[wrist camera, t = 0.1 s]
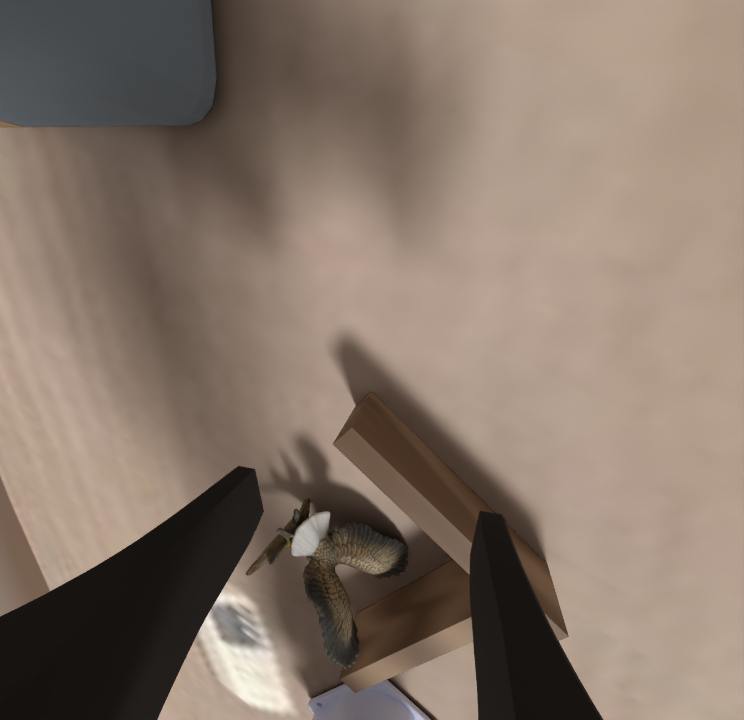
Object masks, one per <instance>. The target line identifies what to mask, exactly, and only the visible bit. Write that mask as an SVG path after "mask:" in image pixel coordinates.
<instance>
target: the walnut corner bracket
mask: <svg viewBox="0 0 744 720" xmlns="http://www.w3.org/2000/svg"><path fill="white" fill-rule="evenodd" d="M333 445H334V446H335V447H336V448H337V449H338V450H339V451H340V452H342V453H343V454H344V455H345V456H346V457H347V458H348V459H349V460H350V461H351V462H352V463H353V464H354V465H355V466H356V467H357V468H358V469H359V470H360V471H361V472H362V473H363V474H365V475H366V476H367V477H368V478H369V479H370V480H371V481H372V482H373V483H374V484H375V485H376V486H377V487H378V488H379V489H380V490H381V491H382V492H383V493H384V494H385V495H387V496H388V497H389V498H390V499H391V500H392V501H393V502H394V503H395V504H396V505H397V506H398V507H399V508H400V509H401V510H402V511H403V512H404V513H405V514H406V515H407V516H408V517H410V518H411V519H412V520H413V521H414V522H415V523H416V524H417V525H418V526H419V527H420V528H421V529H422V530H423V531H424V532H425V533H426V534H427V535H428V536H429V537H430V538H431V539H433V540H434V541H435V542H436V543H437V544H438V545H439V546H440V547H441V548H442V549H443V550H444V551H445V552H446V553H447V554H448V555H449V556H450V557H451V558H452V560H451V561H449V562H447V563H445V564H444V565H442V566H440V567H438V568H437V569H435V570H433V571H431V572H430V573H428V574H426V575H424V576H422V577H421V578H419V579H417V580H415V581H414V582H412V583H410V584H408V585H407V586H405V587H403V588H401V589H400V590H398V591H396V592H394V593H392V594H391V595H389V596H387V597H385V598H384V599H382V600H380V601H378V602H377V603H375V604H373V605H371V606H370V607H368V608H366V609H364V610H362V611H361V612H359V613H357V615H356V618H355V624H356V627H357V629H358V633H357V637H358V638H359V642H360V643H359V650H360V654H359V656H357V657H356V662H355V663H352V665H351V667H348V666H347V668H346V669H344V668H342V672H341V676H340V680H341V681H342V682H343V683H345V684H346V685H347V686H348V687H349V688H350V689H351V690H352V691H354V692H355V693H357V692H359V691H361V690H364V689H366V688H368V687H371V686H373V685H375V684H377V683H380V682H382V681H384V680H387V679H389V678H391V677H393V676H396V675H398V674H400V673H403V672H405V671H407V670H409V669H412V668H414V667H416V666H419V665H421V664H423V663H425V662H428V661H430V660H432V659H435V658H437V657H439V656H441V655H444V654H446V653H448V652H451V651H453V650H455V649H457V648H460V647H462V646H464V645H467V644H469V643H471V642H473V631H472V619H471V606H470V593H469V591H470V552H471V547H472V543H473V538H474V534H475V529H476V525H477V520H478V516H479V511H484V512H490V513H495V512H494V511H493V510H492V509H491V508H490V507H489V506H488V505H487V504H486V503H485V502H484V501H483V500H482V499H481V498H480V497H479V496H477V495H476V494H475V493H474V492H473V491H472V490H471V489H470V488H469V487H468V486H467V485H466V484H465V483H464V482H463V481H462V480H461V479H460V478H459V477H458V476H457V475H456V474H455V473H454V472H453V471H452V470H451V469H450V468H449V467H448V466H447V465H446V464H445V463H444V462H443V461H442V460H441V459H440V458H439V457H438V456H437V455H436V454H435V453H434V452H433V451H432V450H431V449H430V448H429V447H428V446H426V445H425V444H424V443H423V442H422V441H421V440H420V439H419V438H418V437H417V436H416V435H415V434H414V433H413V432H412V431H411V430H410V429H409V428H408V427H407V426H406V425H405V424H404V423H403V422H402V421H401V420H400V419H399V418H398V417H397V416H396V415H395V414H394V413H393V412H392V411H391V410H390V409H389V408H388V407H387V406H386V405H385V404H384V403H383V402H382V401H381V400H380V399H379V398H378V397H377V396H375V395H374V394H373V393H372V392H371V393H370V394H369V395H367V396H366V397H365V398H364V399H363V400H362V401H361V402H360V403H359V404H358V405H356V406H355V408H354V410H353V411H352V413H351V415H350V416H349V418H348V420H347V421H346V423H345V425H344V426H343V428H342V430H341V431H340V433H339V435H338V436H337V438H336V440H335V441H334V443H333ZM495 514H496V513H495ZM507 527H508V530H509V533H510V535H511V538H512V541H513V543H514V546H515V549H516V551H517V554H518V556H519V558H520V561H521V563H522V566H523V568H524V570H525V573H526V575H527V577H528V579H529V582H530V584H531V586H532V588H533V590H534V592H535V595H536V597H537V599H538V601H539V603H540V605H541V607H542V609H543V611H544V614H545V616H546V618H547V620H548V622H549V624H550V626H551V628H552V629H553V631H554V633H555V635H556V637H557V639H558V641H559V640H562V639H564V638H567V637H569V636H568V633H567V629H566V626H565V623H564V619H563V616H562V612H561V609H560V606H559V602H558V599H557V595H556V592H555V589H554V585H553V582H552V579H551V575H550V572H549V568H548V565H547V563H546V562H545V561H544V560H543V559H542V558H541V557H540V556H539V555H538V554H537V553H536V552H535V551H534V550H533V549H532V548H531V547H530V546H529V545H527V544H526V543H525V542H524V541H523V540H522V539H521V538H520V537H519V536H518V535H517V534H516V533H515V532H514V531H513V530H512V529H511V528H510V527H509V526H508V525H507Z"/></svg>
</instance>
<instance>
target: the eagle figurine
mask: <svg viewBox="0 0 744 720" xmlns="http://www.w3.org/2000/svg"><path fill="white" fill-rule="evenodd" d="M308 501H309V500H308V499H307V500H305V501H304V502H303V505H302V507H301V509H300V511H299V510H298V509H295V510H294V516H293V517H292V518H293V519H292V520H291V521H290V522H289V523H288V524H287V525H286V526H285V528H284V529H282V528H278V529H277V532H278V533H279V535H278V536H277V537H276V538H275V539H274V540H273V541H272V542H271V543H270V544H269V545H268V547H267V548H266V549H265V550H264V551H263V553H262V554H261V555H260V556H259V558H258V559H257V560H256V561H255V562H254V563H253V564H252V566H251V567H250V568H249V569H248V571H247V572H246V575H251V574H252V573H253V572H255V571H256V570H257V569H259V568H260V567H261V566H262V565H263V564H264V563H265V562H266V561H267V560H268V561H269V565H272V564H273V563H274V562H275V560H276V559H277V558H278V556H279V554H280V553H281V551H282V550H283V549H285V548H287V547H291V554H292V556H296V557H297V556H305V557H306V558H307V560H308V561H309V563H308V565H307V566H306V567H305V572H304V573H303V577H304V578H305V580H304V584H305V590H306V593H307V598H308V601H309V602H310V603H313V605H314V607H315V608H317V612H318V614H319V616H320V618H319V624H320V625H321V627H322V629H323V637H324V639H325V643H324V649H325V651H327V655H328V657H330V656H331V659H332V661H334V660H335V663H336V664H339V666H342V667H343V668H344V669H346V668H347V666H348V667H351V665H352V663H355V662H356V657H357V656H359V654H360V650H359V643H360V642H359V638H358V637H357V633H358V629H357V627H356V624H355V622H354V620H353V617H352V611H351V603H350V599H349V597H348V594H347V592H346V590H345V589H344V587H343V585H342V583H341V581H340V579H339V577H338V576H337V574H336V572H335V566H336V565H338V564H345V565H348V566H351V567H354V568H356V569H358V570H361V571H363V572H366V573H370V574H372V575H374V576H375V577H377V578H379V579H382V578H383V577H388V578H390V577H391V576H392V575H396V576H399V575H400V572H404V571H405V566H407V565H408V562H407V560H406V559H405V558H407V557H408V554H407V553H406V552H407V548H406V547H405V545H403V544H402V542H400V541H398V540H397V539H391V538H390V537H388V536H382V535H381V534H380V533H379V534H378V533H377V532H376V531H372V529H371V527H368V525H367V524H362V523H355V522H351V523H347V524H346V525H345V527H343V528H340V529H339V530H338V532H336V531H332V532H331V533H328V529H329V520H330V512H329V511H323V512H320V513H313V514H312V515H311V516H310V517H309V512H310V510H309V508H310V504H309V502H308ZM294 534H295V535H294ZM293 536H294V537H293Z"/></svg>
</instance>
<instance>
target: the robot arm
mask: <svg viewBox="0 0 744 720" xmlns="http://www.w3.org/2000/svg"><path fill="white" fill-rule="evenodd" d="M263 512H264V510H263V505H262V501H261V496H260V491H259V486H258V482H257V477H256V472H255V469H251V468H246V467H241V466H238V467H237V468H235V469H234V470H233V471H231V472H230V473H229V474H227V475H226V476H225V477H223V478H222V479H221V480H219V481H218V482H217V483H215V484H214V485H213V486H212V487H210V488H209V489H208V490H206V491H205V492H204V493H202V494H201V495H200V496H198V497H197V498H196V499H195V500H193V501H192V502H191V503H189V504H188V505H186V506H185V507H184V508H182V509H181V510H180V511H178V512H177V513H176V514H174V515H173V516H172V517H170V518H169V519H167V520H166V521H165V522H163V523H162V524H160V525H159V526H157V527H156V528H154V529H153V530H152V531H150V532H149V533H147V534H146V535H144V536H143V537H141V538H140V539H139V540H137V541H136V542H134V543H132V544H131V545H129V546H128V547H126V548H125V549H123V550H122V551H120V552H118V553H117V554H115V555H114V556H112V557H110V558H109V559H107V560H105V561H104V562H102V563H100V564H99V565H97V566H95V567H94V568H92V569H90V570H88V571H87V572H85V573H83V574H81V575H79V576H78V577H76V578H74V579H72V580H70V581H68V582H67V583H65V584H63V585H61V586H59V587H58V588H56V589H54V590H52V591H50V592H49V593H47V594H45V595H43V596H41V597H39V598H37V599H35V600H33V601H31V602H29V603H27V604H25V605H23V606H21V607H19V608H17V609H15V610H13V611H11V612H9V613H7V614H5V615H3V616H1V617H0V720H157V719H158V717H159V714H160V712H161V710H162V708H163V705H164V703H165V701H166V699H167V697H168V694H169V692H170V690H171V688H172V686H173V684H174V681H175V679H176V677H177V675H178V673H179V671H180V668H181V666H182V664H183V662H184V660H185V658H186V656H187V654H188V652H189V650H190V648H191V646H192V644H193V642H194V640H195V637H196V635H197V633H198V631H199V629H200V628H201V626H202V624H203V622H204V620H205V618H206V617H207V615H208V613H209V611H210V610H211V608H212V606H213V604H214V603H215V601H216V599H217V598H218V596H219V594H220V593H221V591H222V589H223V588H224V586H225V584H226V582H227V581H228V579H229V577H230V576H231V574H232V572H233V571H234V569H235V567H236V566H237V564H238V562H239V560H240V559H241V557H242V555H243V554H244V552H245V550H246V548H247V547H248V545H249V543H250V541H251V539H252V537H253V535H254V532H255V530H256V528H257V526H258V523H259V521H260V519H261V516H262V514H263ZM469 593H470V606H471V619H472V631H473V643H474V656H475V668H476V680H477V695H478V720H603V718H602V717H601V715H600V714H599V712H598V710H597V709H596V707H595V705H594V704H593V702H592V700H591V699H590V697H589V695H588V693H587V692H586V690H585V688H584V686H583V685H582V683H581V681H580V679H579V678H578V676H577V674H576V672H575V671H574V669H573V667H572V665H571V663H570V662H569V660H568V658H567V656H566V654H565V652H564V651H563V649H562V647H561V645H560V643H559V641H558V639H557V637H556V635H555V633H554V631H553V629H552V628H551V626H550V624H549V622H548V620H547V618H546V616H545V614H544V611H543V609H542V607H541V605H540V603H539V601H538V599H537V597H536V595H535V592H534V590H533V588H532V586H531V584H530V582H529V579H528V577H527V575H526V573H525V570H524V568H523V566H522V563H521V561H520V558H519V556H518V554H517V551H516V549H515V546H514V543H513V541H512V538H511V535H510V533H509V530H508V527H507V524H506V521H505V518H504V517H503V516H502V515H501V514H495V513H490V512H484V511H479V516H478V520H477V525H476V529H475V534H474V538H473V543H472V547H471V552H470V591H469ZM308 707H309V709H311V710H312V711H313V712H314V716H313V719H312V720H431V719H430V718H429V717H428V716H427V715H426V714H424V713H423V712H422V711H421V710H420V709H419V708H418V707H417V706H416V705H415V704H413V703H412V702H411V701H410V700H409V699H408V698H407V697H406V696H405V695H403V694H402V693H401V692H400V691H399V690H398V689H397V688H396V687H395V686H394V685H392V684H391V683H390V682H389V681H388V680H384V681H382V682H380V683H377V684H375V685H373V686H371V687H368V688H366V689H364V690H361V691H359V692H357V693H355V692H354V691H352V690H351V689H350V688H349V687H348V686H347V685H346V684H343V685H341V686H339V687H336V688H334V689H332V690H330V691H328V692H326V693H323V694H321V695H319V696H317V697H315V698H313V699H310V700H309V703H308Z"/></svg>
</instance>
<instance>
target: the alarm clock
mask: <svg viewBox="0 0 744 720" xmlns="http://www.w3.org/2000/svg"><path fill="white" fill-rule="evenodd" d="M216 78H217V77H216V63H215V50H214V37H213V24H212V10H211V0H0V127H84V126H173V125H191V124H194V123H196V122H198V121H201V120H202V119H203V118H204V117H205V116H206V114H207V113H208V112H209V110H210V109H211V108H212V105H213V100H214V93H215V85H216Z"/></svg>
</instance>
